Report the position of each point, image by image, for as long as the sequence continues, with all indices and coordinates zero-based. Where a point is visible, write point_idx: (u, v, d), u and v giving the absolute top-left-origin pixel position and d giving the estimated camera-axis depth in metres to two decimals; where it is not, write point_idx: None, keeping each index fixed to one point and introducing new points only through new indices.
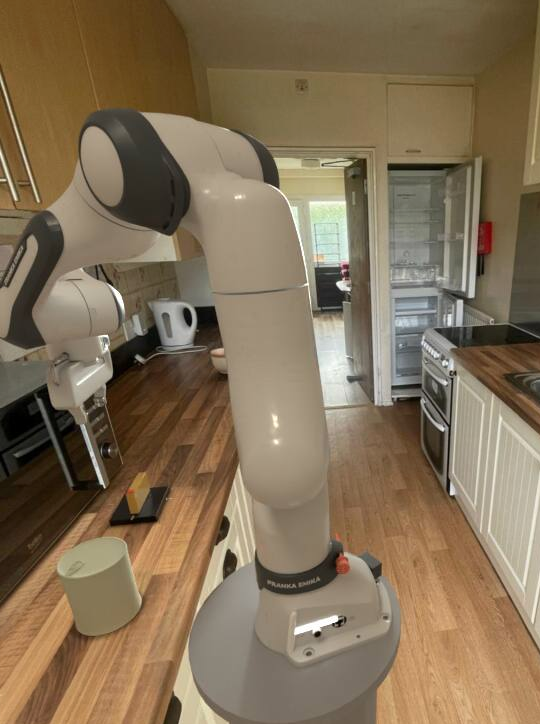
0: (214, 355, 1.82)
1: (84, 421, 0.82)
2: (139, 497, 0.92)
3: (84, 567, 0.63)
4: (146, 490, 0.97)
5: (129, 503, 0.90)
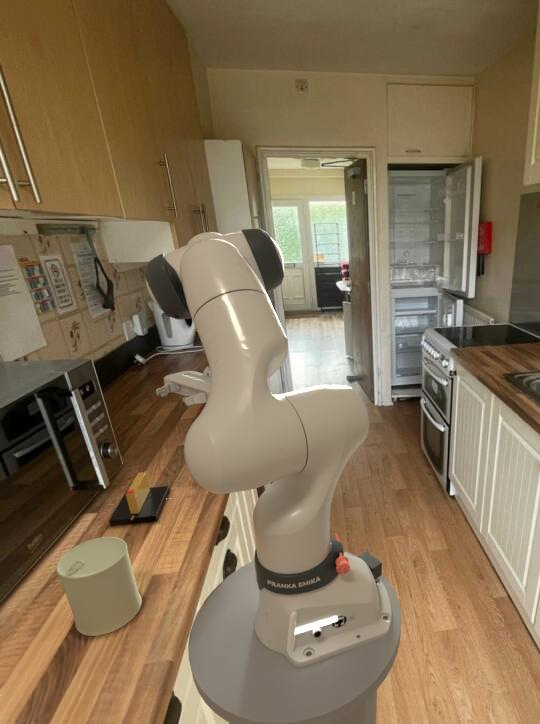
0: None
1: None
2: (139, 497, 0.92)
3: (84, 567, 0.63)
4: (146, 490, 0.97)
5: (129, 503, 0.90)
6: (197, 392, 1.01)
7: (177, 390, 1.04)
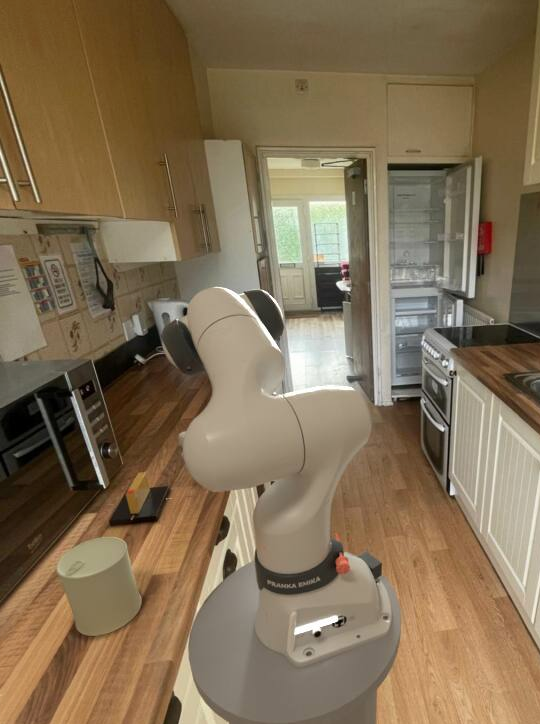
0: None
1: None
2: (139, 497, 0.92)
3: (84, 567, 0.63)
4: (146, 490, 0.97)
5: (129, 503, 0.90)
6: None
7: None
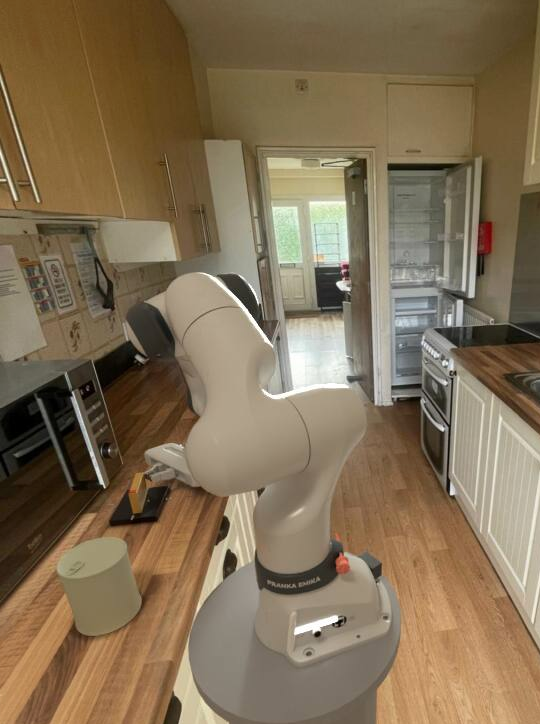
0: None
1: None
2: (141, 496, 0.92)
3: (84, 567, 0.63)
4: (145, 490, 0.97)
5: (132, 503, 0.90)
6: None
7: None
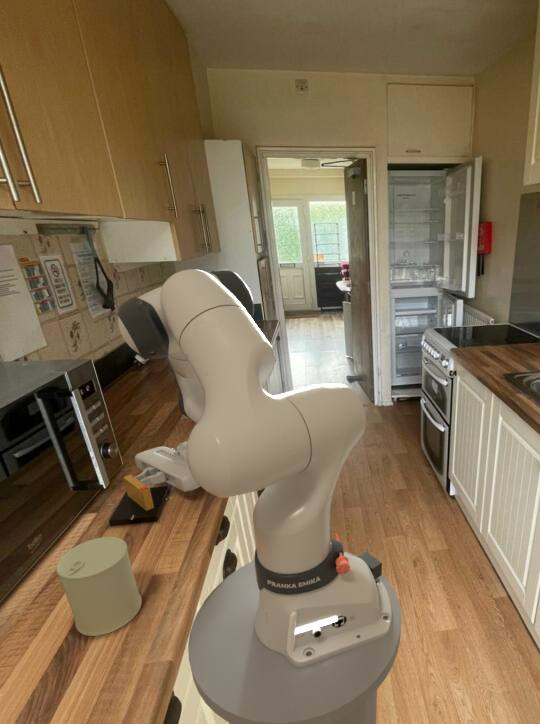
0: None
1: None
2: None
3: (84, 567, 0.63)
4: None
5: (145, 500, 0.91)
6: None
7: None
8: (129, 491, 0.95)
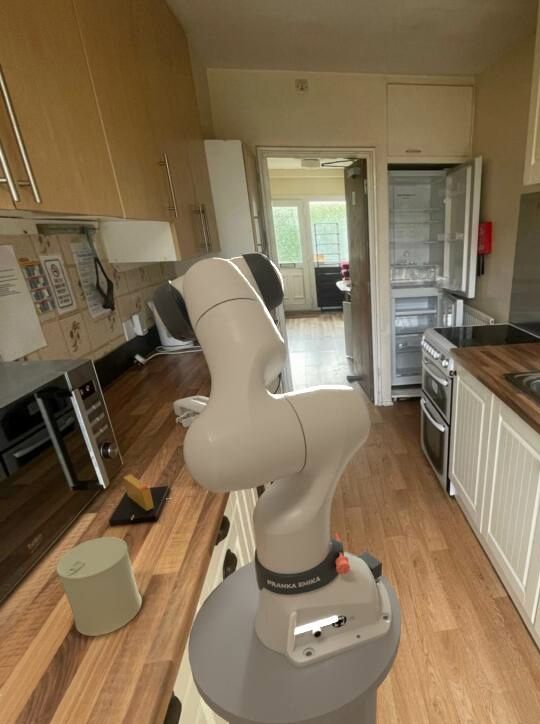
0: None
1: None
2: None
3: (84, 567, 0.63)
4: None
5: (145, 500, 0.91)
6: None
7: None
8: (129, 491, 0.95)
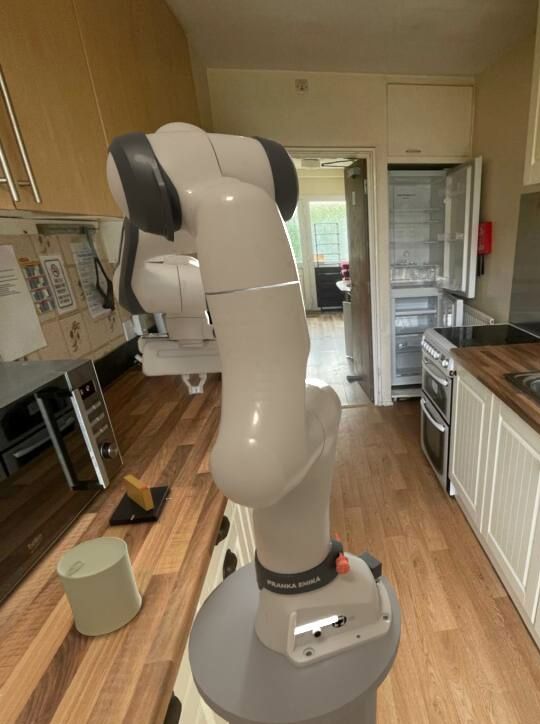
0: None
1: (189, 391, 0.97)
2: None
3: (84, 567, 0.63)
4: None
5: (145, 500, 0.91)
6: None
7: None
8: (129, 491, 0.95)
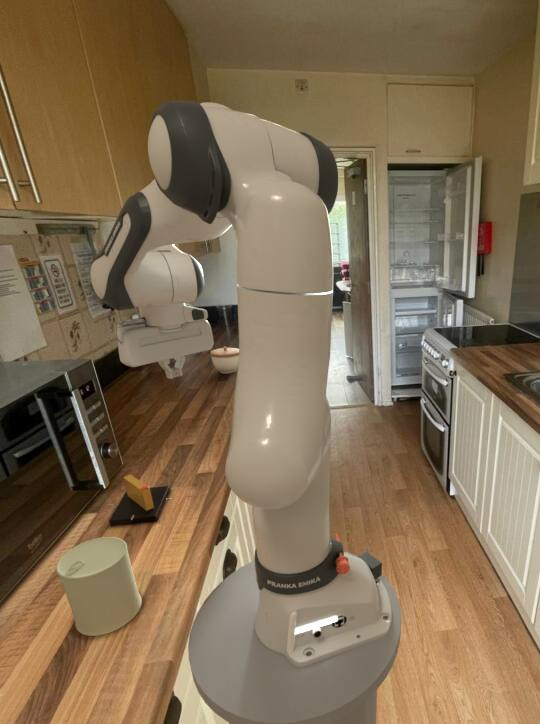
0: (214, 355, 1.82)
1: (170, 376, 0.94)
2: None
3: (84, 567, 0.63)
4: None
5: (145, 500, 0.91)
6: None
7: None
8: (129, 491, 0.95)
